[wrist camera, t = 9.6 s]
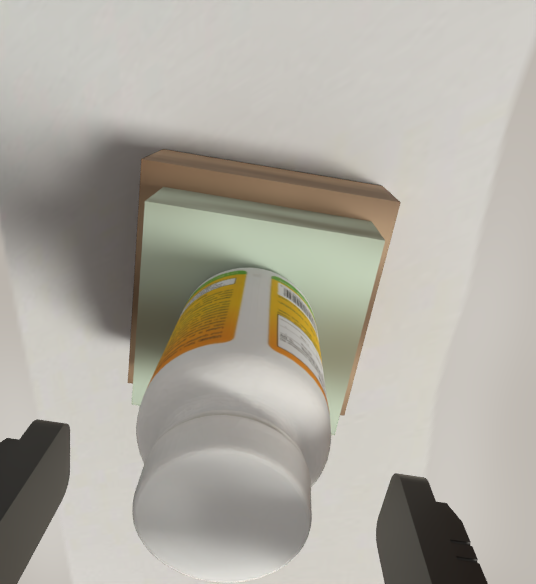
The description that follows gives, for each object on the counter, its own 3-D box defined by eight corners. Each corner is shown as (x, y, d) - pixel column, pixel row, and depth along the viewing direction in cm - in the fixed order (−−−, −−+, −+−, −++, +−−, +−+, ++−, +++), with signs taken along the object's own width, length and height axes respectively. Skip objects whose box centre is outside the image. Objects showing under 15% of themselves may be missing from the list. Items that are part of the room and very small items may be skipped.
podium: (163, 149, 24) (119, 169, 17) (382, 186, 24) (418, 219, 18) (148, 344, 28) (107, 419, 22) (336, 373, 28) (351, 455, 22)
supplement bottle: (174, 372, 21) (90, 586, 12) (192, 251, 19) (106, 398, 10) (300, 394, 21) (313, 623, 12) (330, 278, 19) (374, 446, 10)
